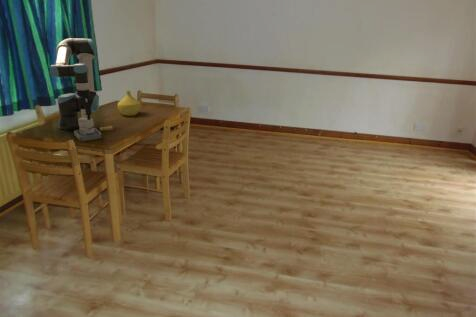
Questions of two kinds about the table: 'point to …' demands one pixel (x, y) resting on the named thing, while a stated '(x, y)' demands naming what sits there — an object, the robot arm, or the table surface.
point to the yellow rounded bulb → (129, 105)
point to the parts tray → (89, 137)
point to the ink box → (86, 127)
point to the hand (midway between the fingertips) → (86, 121)
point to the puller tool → (106, 128)
